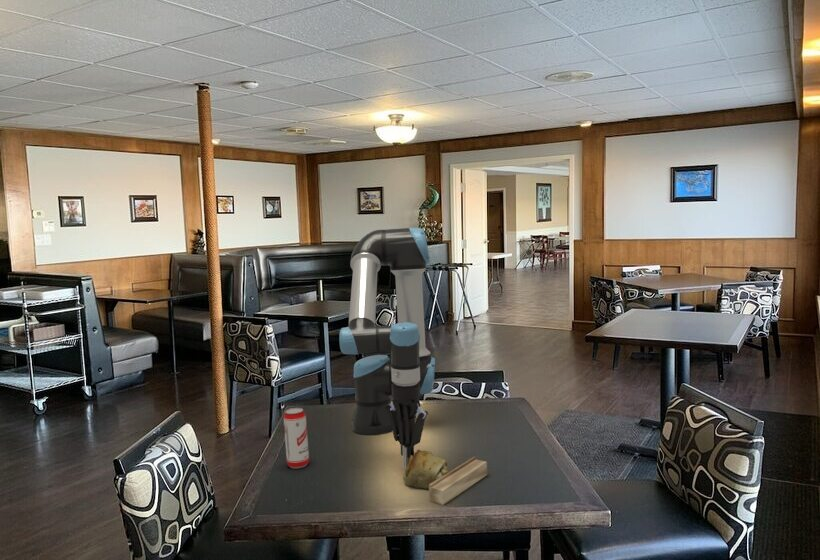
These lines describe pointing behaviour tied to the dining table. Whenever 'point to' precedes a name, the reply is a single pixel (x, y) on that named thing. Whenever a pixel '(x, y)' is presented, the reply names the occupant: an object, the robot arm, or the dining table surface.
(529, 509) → the dining table surface
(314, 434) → the dining table surface
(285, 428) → the beer can
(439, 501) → the wooden block
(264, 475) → the dining table surface
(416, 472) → the pastry
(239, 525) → the dining table surface
